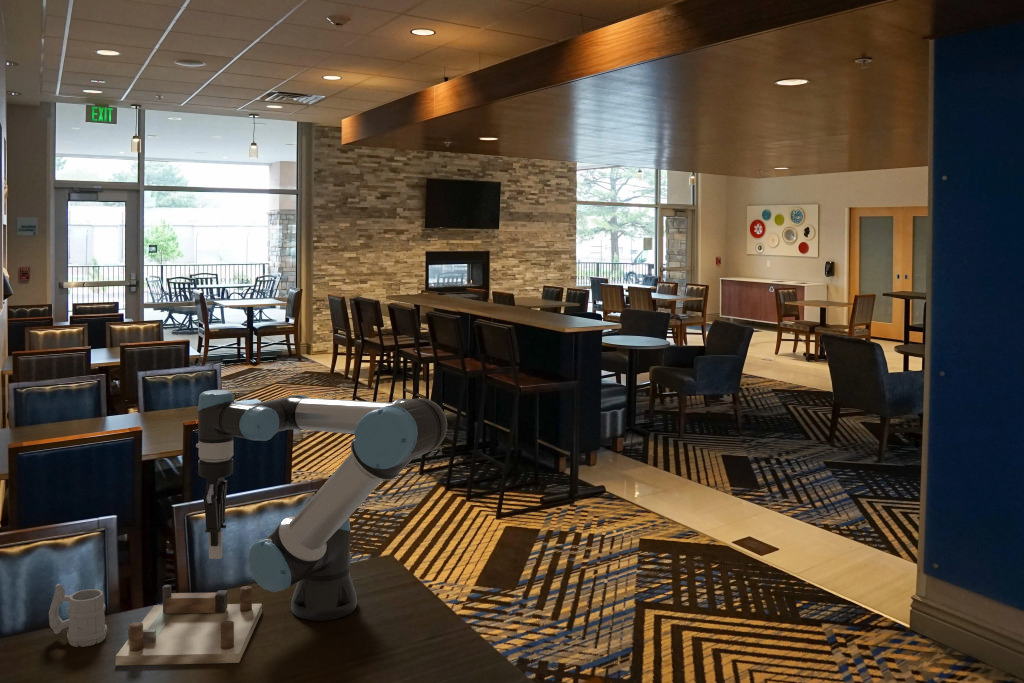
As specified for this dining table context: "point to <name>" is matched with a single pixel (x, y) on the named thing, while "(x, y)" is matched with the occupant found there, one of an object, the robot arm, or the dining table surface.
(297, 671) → the dining table surface
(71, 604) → the mug
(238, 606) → the stool seat
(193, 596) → the brown piece
